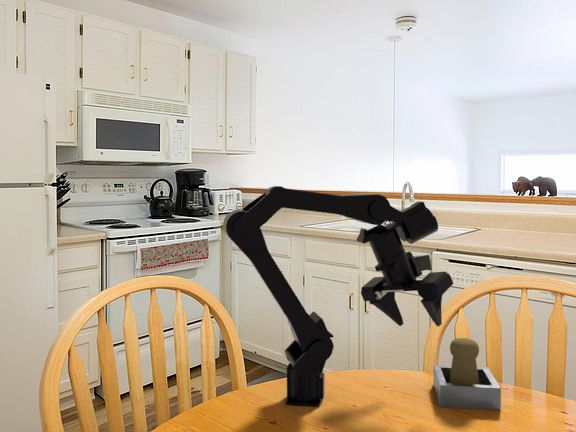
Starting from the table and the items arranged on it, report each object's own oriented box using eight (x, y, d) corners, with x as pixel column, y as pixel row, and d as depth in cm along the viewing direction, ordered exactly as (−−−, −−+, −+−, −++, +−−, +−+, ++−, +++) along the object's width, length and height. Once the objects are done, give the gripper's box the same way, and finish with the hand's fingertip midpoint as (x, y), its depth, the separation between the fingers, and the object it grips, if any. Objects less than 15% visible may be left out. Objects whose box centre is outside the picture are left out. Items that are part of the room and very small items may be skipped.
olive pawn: (482, 404, 94) (483, 345, 93) (447, 401, 95) (448, 343, 95) (479, 391, 100) (479, 336, 99) (446, 389, 101) (446, 334, 100)
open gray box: (440, 406, 93) (440, 385, 93) (433, 384, 103) (433, 365, 103) (500, 410, 91) (500, 388, 91) (487, 387, 102) (487, 367, 101)
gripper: (452, 230, 97) (481, 303, 99) (378, 242, 111) (404, 305, 114) (421, 256, 90) (453, 334, 92) (346, 265, 105) (375, 332, 107)
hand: (420, 325), depth 101 cm, fingers open, 9 cm apart
